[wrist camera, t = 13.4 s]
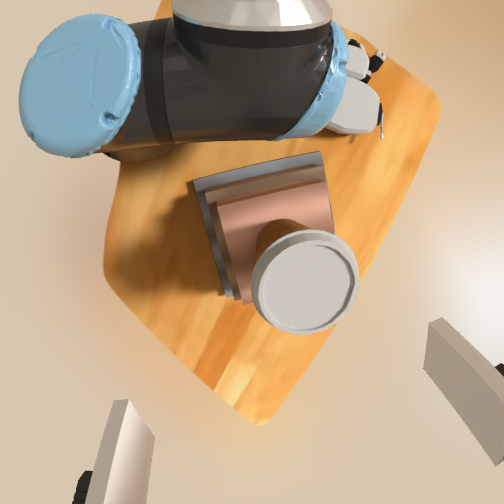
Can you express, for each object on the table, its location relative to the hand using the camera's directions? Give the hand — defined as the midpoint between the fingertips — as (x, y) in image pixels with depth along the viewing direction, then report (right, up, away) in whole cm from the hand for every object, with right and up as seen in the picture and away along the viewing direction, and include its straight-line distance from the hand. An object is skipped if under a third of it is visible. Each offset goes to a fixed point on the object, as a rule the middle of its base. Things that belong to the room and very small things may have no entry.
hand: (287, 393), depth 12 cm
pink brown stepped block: (+1, +10, +34) cm, 35 cm away
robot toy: (+11, +30, +28) cm, 43 cm away
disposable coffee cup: (+2, +7, +25) cm, 26 cm away
